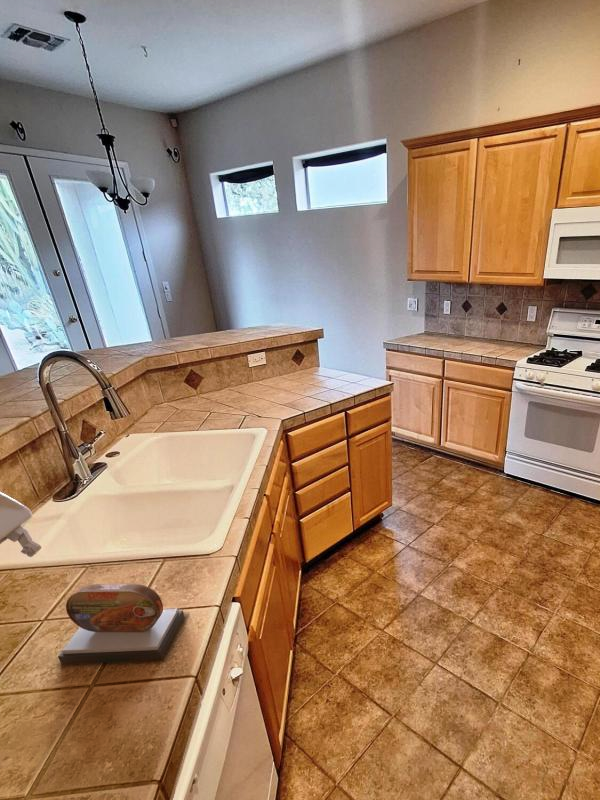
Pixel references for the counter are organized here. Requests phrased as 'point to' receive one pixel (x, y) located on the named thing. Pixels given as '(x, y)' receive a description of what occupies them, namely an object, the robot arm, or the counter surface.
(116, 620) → the tin
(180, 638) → the counter surface
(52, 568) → the counter surface
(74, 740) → the counter surface
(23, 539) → the robot arm
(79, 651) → the scale
